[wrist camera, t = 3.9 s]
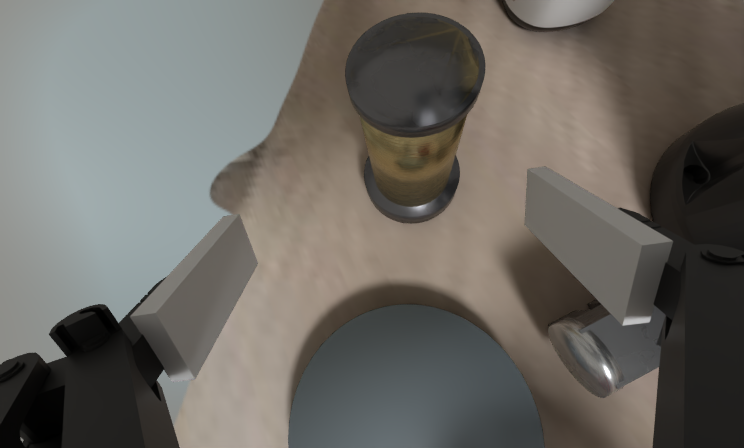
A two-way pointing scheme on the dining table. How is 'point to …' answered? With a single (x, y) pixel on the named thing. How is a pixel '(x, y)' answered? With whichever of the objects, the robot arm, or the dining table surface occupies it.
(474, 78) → the amber glass cylinder
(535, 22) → the spread jar
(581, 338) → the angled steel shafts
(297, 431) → the disc
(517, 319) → the dining table surface
